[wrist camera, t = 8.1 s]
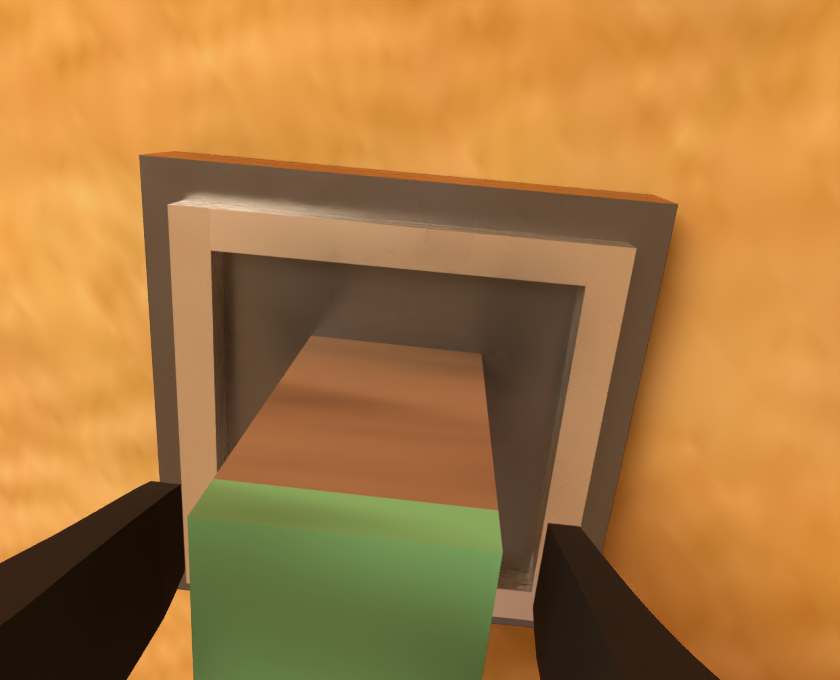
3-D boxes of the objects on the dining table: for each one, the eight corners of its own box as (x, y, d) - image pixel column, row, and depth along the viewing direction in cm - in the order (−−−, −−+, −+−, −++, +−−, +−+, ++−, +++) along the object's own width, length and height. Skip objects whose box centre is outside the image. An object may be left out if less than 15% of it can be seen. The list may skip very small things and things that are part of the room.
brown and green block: (461, 500, 18) (466, 777, 10) (305, 483, 18) (196, 745, 10) (481, 353, 16) (503, 551, 9) (310, 335, 16) (187, 516, 9)
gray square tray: (572, 587, 21) (589, 654, 18) (192, 546, 21) (154, 606, 19) (653, 195, 17) (689, 209, 14) (174, 151, 17) (122, 156, 14)
